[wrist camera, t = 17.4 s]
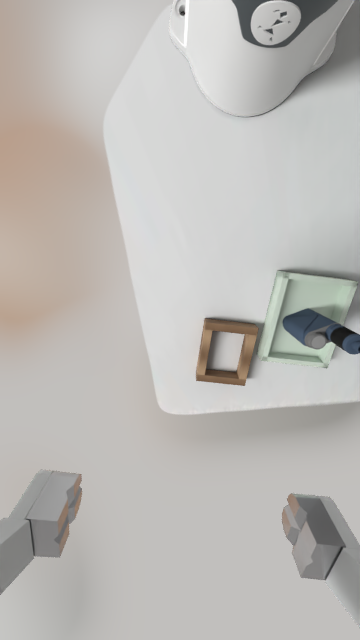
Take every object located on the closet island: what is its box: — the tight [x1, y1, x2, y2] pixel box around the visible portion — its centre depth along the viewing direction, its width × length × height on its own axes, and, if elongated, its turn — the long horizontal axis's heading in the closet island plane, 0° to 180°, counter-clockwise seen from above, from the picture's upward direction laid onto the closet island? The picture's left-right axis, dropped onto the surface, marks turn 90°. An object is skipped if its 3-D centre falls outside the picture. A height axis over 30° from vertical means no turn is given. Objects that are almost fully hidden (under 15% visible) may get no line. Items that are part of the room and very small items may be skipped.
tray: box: [257, 271, 358, 368], centre depth 36 cm, size 14×11×2 cm
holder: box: [196, 318, 259, 386], centre depth 38 cm, size 10×8×2 cm
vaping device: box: [282, 308, 360, 354], centre depth 31 cm, size 3×5×12 cm, turn 112°
